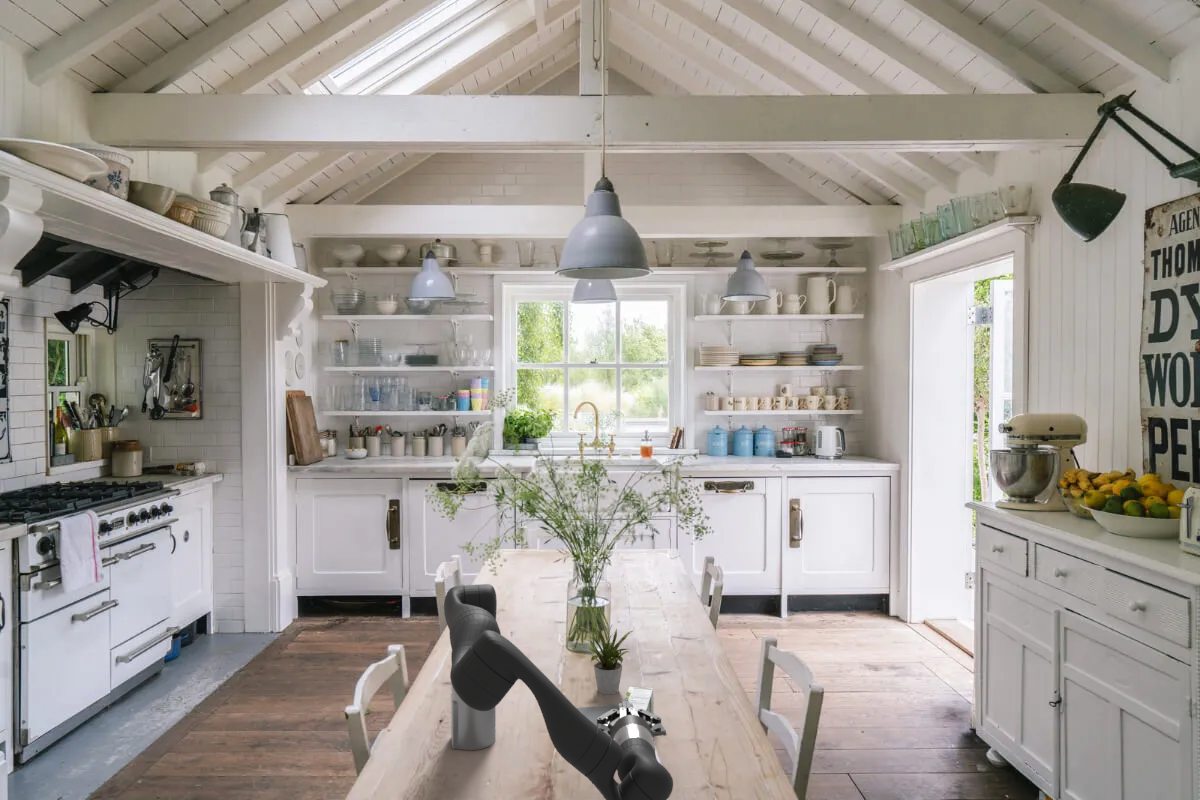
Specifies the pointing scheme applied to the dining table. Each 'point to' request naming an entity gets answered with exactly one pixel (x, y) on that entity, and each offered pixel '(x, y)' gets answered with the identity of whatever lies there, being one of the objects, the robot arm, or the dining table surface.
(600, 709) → the rubber mat
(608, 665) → the house plant
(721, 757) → the dining table surface
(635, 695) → the syrup box
